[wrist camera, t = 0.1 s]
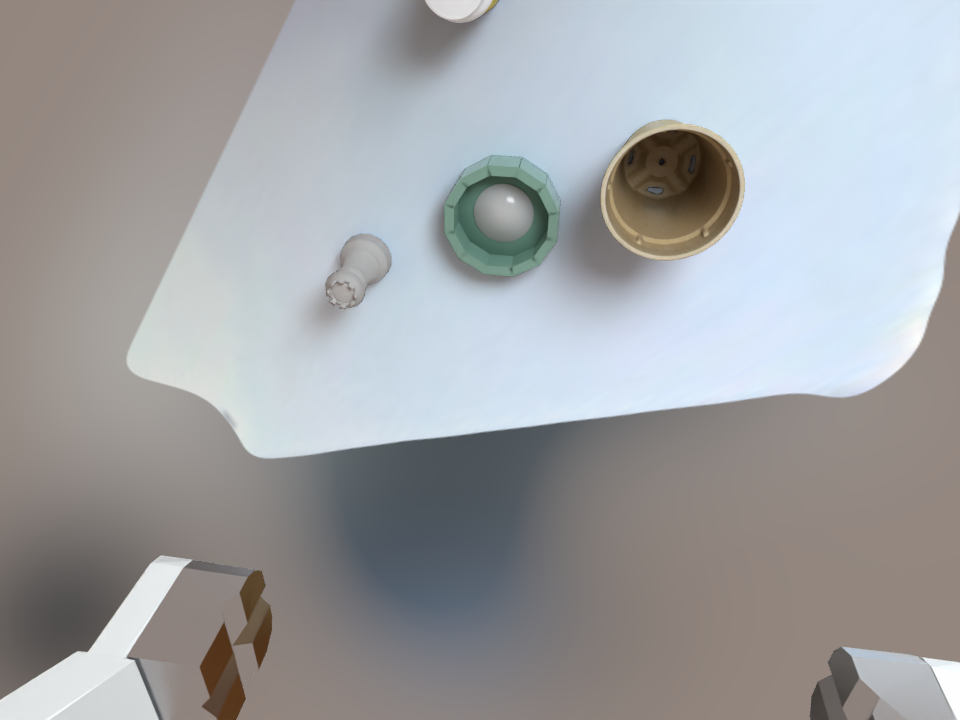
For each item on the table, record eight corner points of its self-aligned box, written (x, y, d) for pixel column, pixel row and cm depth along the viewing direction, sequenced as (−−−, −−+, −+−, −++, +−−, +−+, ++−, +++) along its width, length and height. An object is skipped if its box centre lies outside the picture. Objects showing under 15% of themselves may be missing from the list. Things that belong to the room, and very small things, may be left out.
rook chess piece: (348, 225, 59) (317, 262, 52) (397, 239, 59) (372, 278, 52) (341, 270, 62) (311, 311, 55) (388, 283, 62) (364, 326, 55)
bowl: (450, 152, 54) (444, 162, 52) (564, 159, 54) (563, 170, 51) (450, 257, 59) (444, 271, 57) (554, 266, 58) (553, 279, 56)
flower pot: (615, 231, 56) (619, 275, 49) (585, 120, 52) (584, 151, 45) (732, 199, 53) (755, 240, 46) (711, 78, 49) (732, 103, 42)
